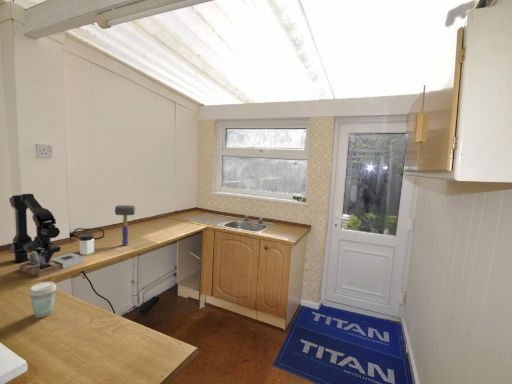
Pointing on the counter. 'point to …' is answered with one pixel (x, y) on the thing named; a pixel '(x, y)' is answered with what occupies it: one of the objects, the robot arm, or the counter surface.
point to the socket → (67, 260)
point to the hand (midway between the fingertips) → (44, 262)
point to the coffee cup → (43, 298)
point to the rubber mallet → (125, 219)
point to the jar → (86, 244)
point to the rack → (38, 266)
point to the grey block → (43, 261)
